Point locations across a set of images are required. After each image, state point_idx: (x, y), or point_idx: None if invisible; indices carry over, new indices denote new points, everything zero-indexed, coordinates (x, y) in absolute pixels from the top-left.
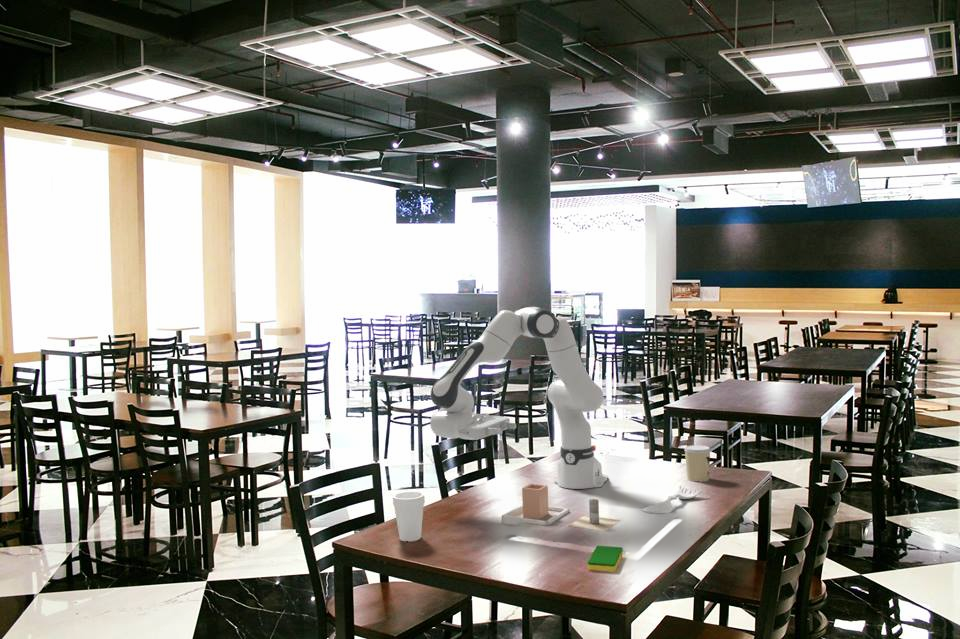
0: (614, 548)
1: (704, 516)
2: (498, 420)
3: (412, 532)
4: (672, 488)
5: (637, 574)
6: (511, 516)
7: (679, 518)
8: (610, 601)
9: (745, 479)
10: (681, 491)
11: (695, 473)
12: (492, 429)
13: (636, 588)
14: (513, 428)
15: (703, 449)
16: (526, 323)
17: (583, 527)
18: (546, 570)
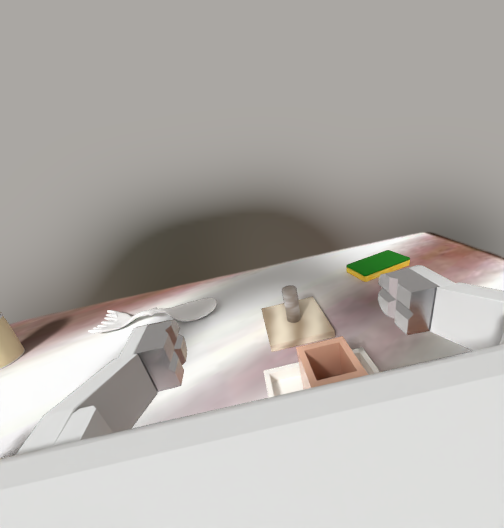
0: (356, 265)
1: (192, 289)
2: (98, 494)
3: None
4: (59, 358)
5: (373, 249)
6: None
7: (207, 296)
8: (433, 235)
9: (27, 326)
10: (107, 326)
11: (14, 346)
12: (497, 296)
13: (395, 240)
14: (186, 350)
15: None
16: None
17: (322, 315)
18: (462, 276)
